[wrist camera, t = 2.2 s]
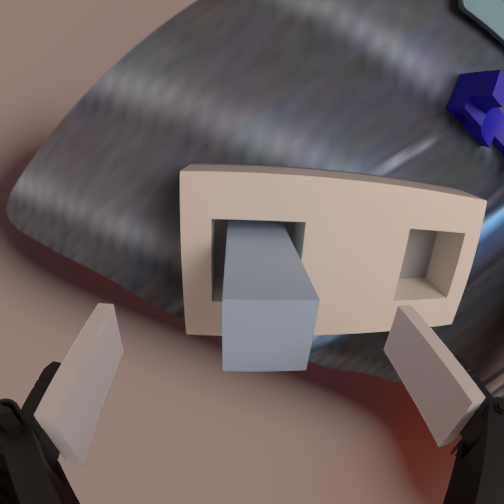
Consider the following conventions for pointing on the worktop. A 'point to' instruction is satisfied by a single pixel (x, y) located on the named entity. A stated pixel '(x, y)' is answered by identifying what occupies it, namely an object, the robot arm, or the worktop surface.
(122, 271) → the worktop surface
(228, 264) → the plug
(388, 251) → the socket strip
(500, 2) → the rectangular tray
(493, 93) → the blue angular bent piece
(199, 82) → the worktop surface
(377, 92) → the worktop surface
